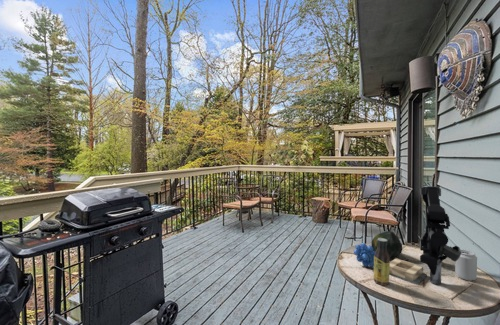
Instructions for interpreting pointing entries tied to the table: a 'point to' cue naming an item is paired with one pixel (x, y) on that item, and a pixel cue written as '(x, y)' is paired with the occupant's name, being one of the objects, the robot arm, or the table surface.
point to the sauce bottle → (381, 263)
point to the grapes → (365, 254)
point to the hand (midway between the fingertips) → (435, 273)
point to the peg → (436, 278)
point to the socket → (406, 271)
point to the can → (466, 266)
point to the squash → (389, 243)
